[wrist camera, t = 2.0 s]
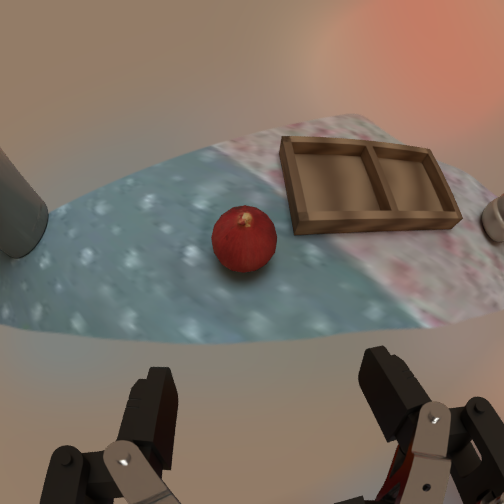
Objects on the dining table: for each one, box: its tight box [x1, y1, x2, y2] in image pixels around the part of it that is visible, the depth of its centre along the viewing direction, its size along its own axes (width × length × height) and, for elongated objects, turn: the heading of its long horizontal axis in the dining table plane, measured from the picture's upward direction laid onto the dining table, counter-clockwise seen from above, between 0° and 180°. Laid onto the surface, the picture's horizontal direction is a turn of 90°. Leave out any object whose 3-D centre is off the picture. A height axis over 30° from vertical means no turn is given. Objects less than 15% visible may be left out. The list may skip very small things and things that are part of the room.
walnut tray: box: [279, 136, 463, 235], centre depth 32 cm, size 23×12×3 cm, turn 95°
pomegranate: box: [211, 205, 277, 273], centre depth 25 cm, size 6×6×8 cm
